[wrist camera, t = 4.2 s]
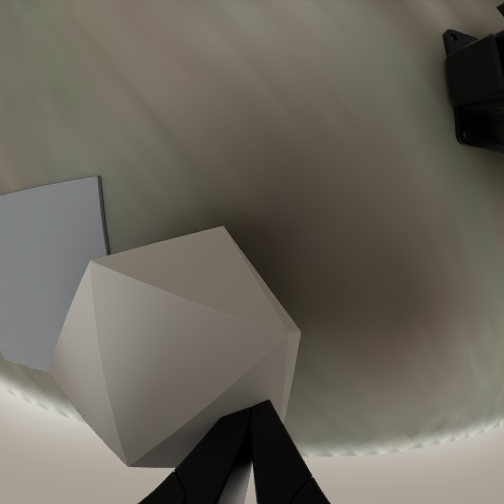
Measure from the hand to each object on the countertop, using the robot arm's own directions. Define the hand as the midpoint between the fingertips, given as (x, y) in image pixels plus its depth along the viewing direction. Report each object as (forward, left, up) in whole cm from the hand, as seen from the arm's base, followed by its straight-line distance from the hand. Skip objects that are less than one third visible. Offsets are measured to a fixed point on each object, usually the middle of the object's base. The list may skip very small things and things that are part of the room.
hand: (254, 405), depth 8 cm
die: (+3, 0, -7) cm, 8 cm away
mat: (+15, 0, -7) cm, 16 cm away
